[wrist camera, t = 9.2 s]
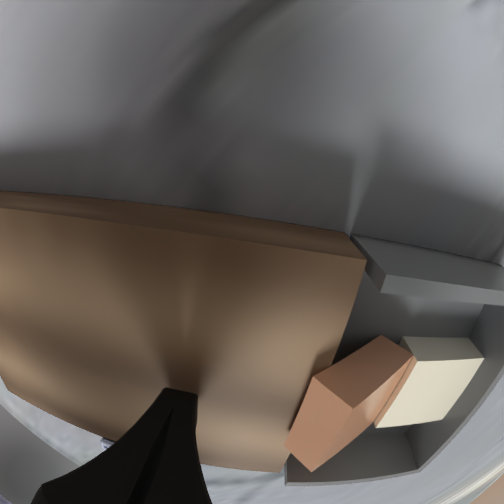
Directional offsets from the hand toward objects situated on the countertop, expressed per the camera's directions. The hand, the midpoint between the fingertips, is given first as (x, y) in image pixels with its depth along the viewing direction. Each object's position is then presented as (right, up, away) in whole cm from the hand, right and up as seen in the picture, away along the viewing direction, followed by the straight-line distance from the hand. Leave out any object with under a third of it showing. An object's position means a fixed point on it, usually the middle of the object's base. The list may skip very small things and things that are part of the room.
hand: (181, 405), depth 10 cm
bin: (+11, 0, +4) cm, 11 cm away
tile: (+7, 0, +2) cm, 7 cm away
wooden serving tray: (-4, +2, +4) cm, 6 cm away
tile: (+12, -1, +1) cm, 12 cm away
